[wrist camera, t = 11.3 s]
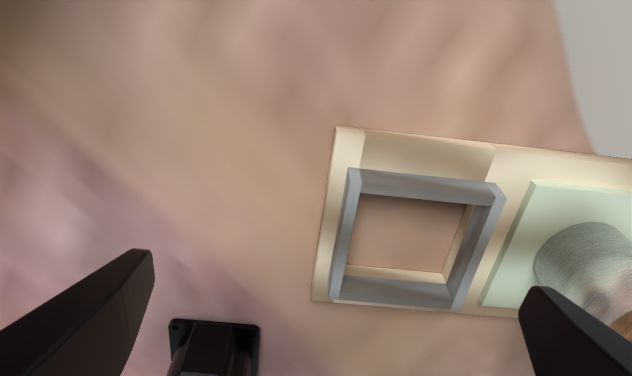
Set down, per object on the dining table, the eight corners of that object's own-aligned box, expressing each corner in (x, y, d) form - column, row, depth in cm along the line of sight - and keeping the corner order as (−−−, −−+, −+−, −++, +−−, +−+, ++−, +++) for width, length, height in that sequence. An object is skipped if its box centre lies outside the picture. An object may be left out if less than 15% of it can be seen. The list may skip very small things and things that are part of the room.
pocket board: (588, 314, 28) (612, 345, 26) (310, 289, 27) (310, 319, 25) (686, 165, 22) (727, 188, 20) (335, 125, 21) (337, 144, 19)
